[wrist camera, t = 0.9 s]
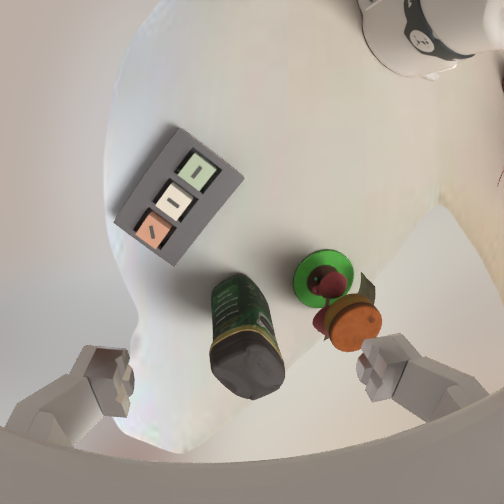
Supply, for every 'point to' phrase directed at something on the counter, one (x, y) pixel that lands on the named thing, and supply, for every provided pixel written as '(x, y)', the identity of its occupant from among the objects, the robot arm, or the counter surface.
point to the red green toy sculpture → (337, 300)
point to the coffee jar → (244, 340)
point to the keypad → (203, 200)
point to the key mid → (174, 201)
